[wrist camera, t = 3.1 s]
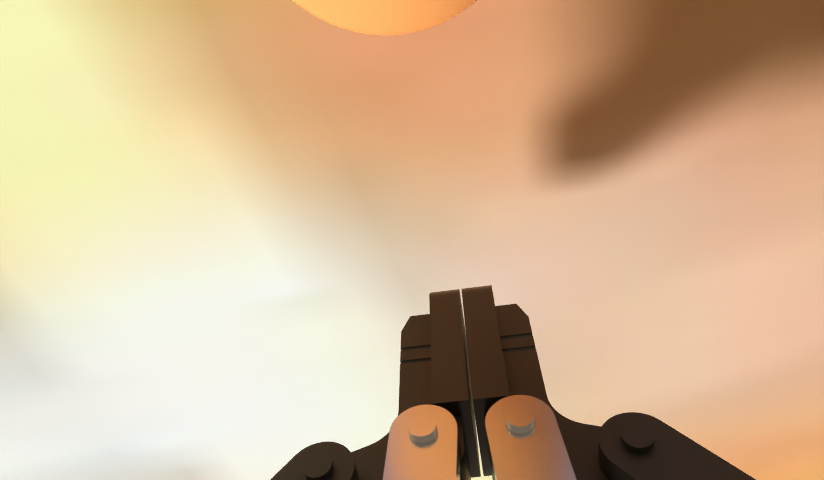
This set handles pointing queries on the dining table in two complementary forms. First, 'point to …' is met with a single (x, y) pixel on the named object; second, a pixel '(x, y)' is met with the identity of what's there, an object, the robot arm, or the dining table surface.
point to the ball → (385, 14)
